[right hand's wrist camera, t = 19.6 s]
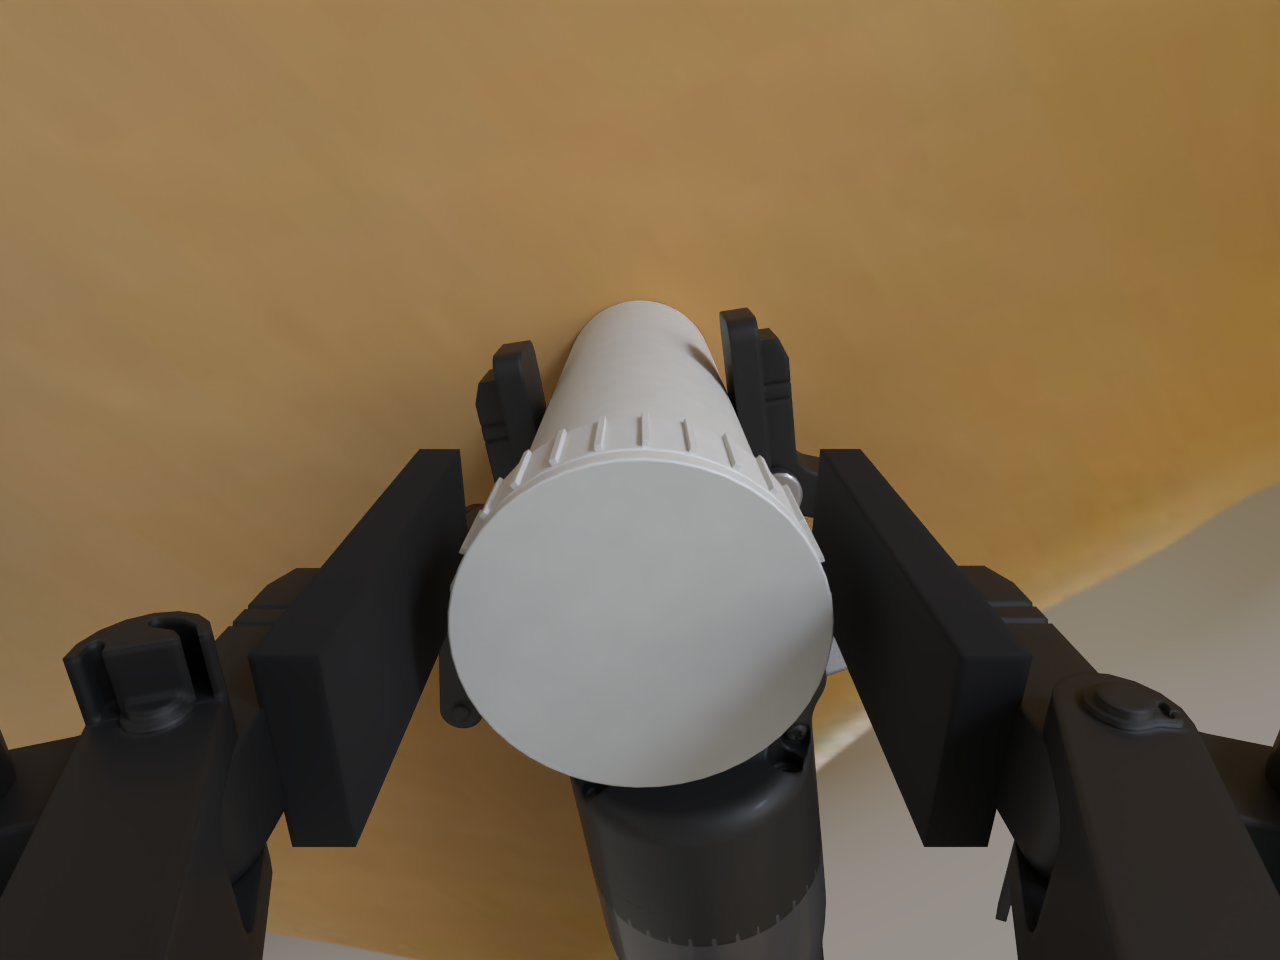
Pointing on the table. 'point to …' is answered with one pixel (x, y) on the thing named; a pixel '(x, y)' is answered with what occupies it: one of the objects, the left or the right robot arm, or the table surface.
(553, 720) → the lid
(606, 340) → the jar
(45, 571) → the table surface
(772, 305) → the table surface
